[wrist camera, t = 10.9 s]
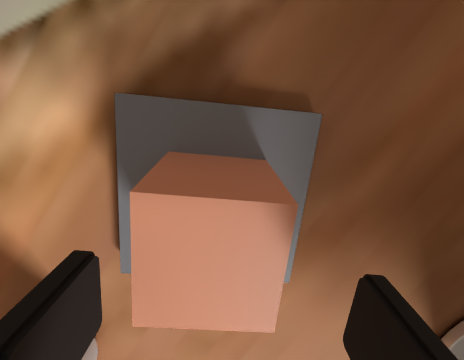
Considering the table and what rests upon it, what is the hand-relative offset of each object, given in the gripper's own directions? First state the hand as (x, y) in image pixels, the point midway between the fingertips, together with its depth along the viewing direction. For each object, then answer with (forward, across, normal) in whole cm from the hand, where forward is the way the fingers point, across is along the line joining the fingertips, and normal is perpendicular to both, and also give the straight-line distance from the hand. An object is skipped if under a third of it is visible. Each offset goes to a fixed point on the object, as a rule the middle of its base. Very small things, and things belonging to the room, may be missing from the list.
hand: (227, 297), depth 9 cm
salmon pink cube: (+8, +1, 0) cm, 8 cm away
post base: (+10, +1, -1) cm, 10 cm away
